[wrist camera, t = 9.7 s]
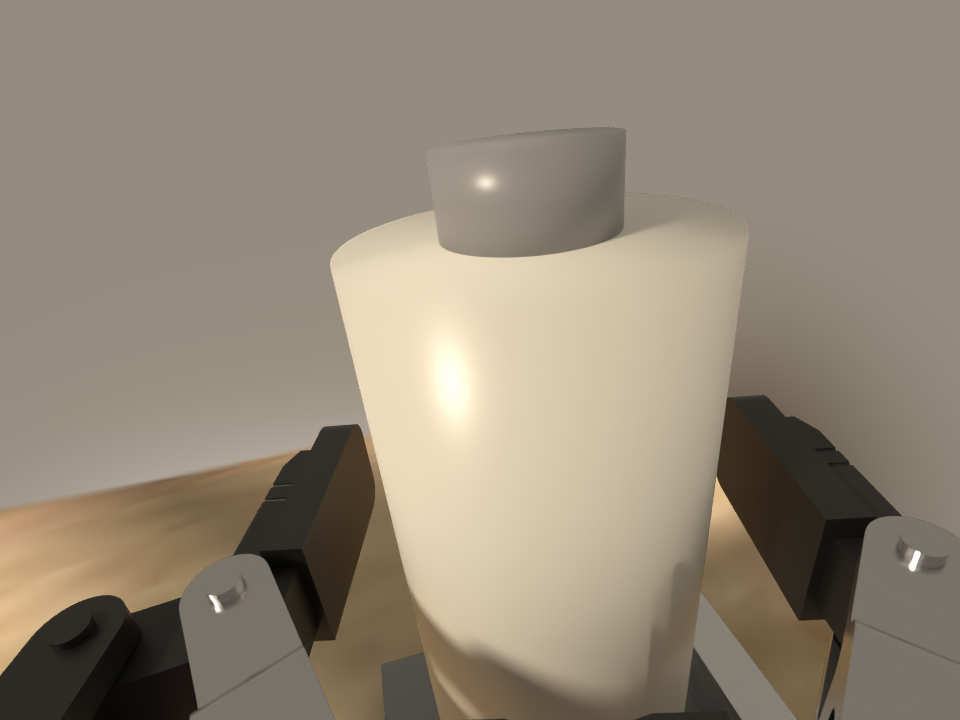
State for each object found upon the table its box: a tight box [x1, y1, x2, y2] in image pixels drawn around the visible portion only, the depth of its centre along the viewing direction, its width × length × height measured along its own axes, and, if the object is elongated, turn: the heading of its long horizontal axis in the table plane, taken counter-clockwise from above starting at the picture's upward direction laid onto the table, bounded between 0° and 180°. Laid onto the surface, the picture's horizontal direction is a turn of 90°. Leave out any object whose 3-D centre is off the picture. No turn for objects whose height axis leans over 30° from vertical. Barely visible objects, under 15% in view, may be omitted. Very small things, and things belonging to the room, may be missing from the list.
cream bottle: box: [330, 127, 749, 720], centre depth 10 cm, size 6×6×15 cm
